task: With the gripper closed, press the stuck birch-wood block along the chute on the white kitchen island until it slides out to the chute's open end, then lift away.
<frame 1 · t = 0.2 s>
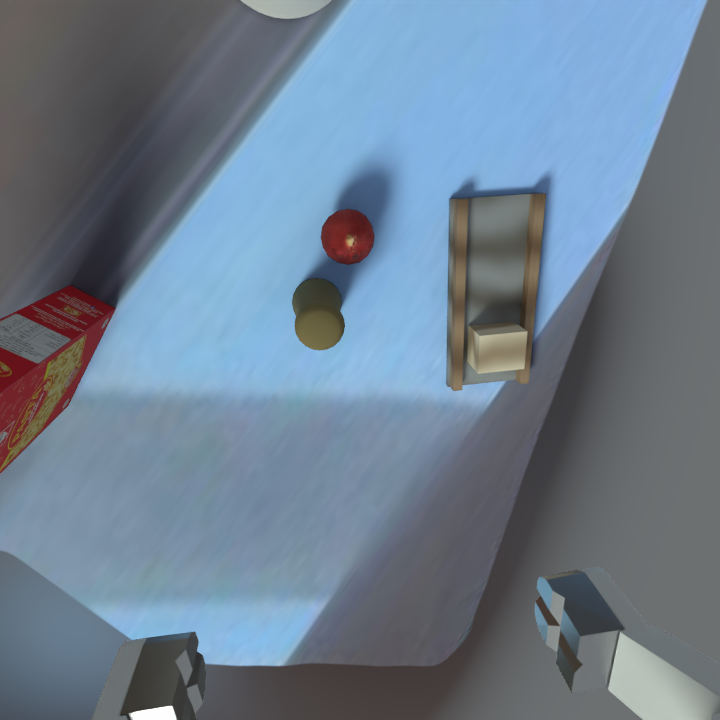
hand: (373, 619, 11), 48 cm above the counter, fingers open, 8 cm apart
birch block: (496, 347, 58), point 3 cm above the counter, slide at 0.0 cm
chute: (489, 295, 59), on the counter
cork: (316, 302, 57), on the counter
food packaging: (69, 347, 55), on the counter
onion: (344, 233, 54), on the counter
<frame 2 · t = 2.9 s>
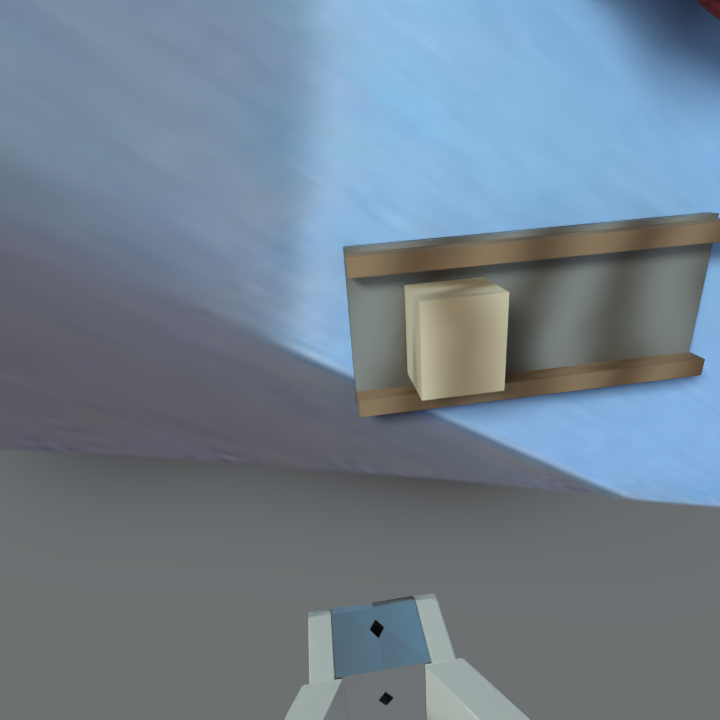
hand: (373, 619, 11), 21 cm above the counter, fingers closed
birch block: (453, 336, 28), point 3 cm above the counter, slide at 0.0 cm
chute: (526, 312, 31), on the counter
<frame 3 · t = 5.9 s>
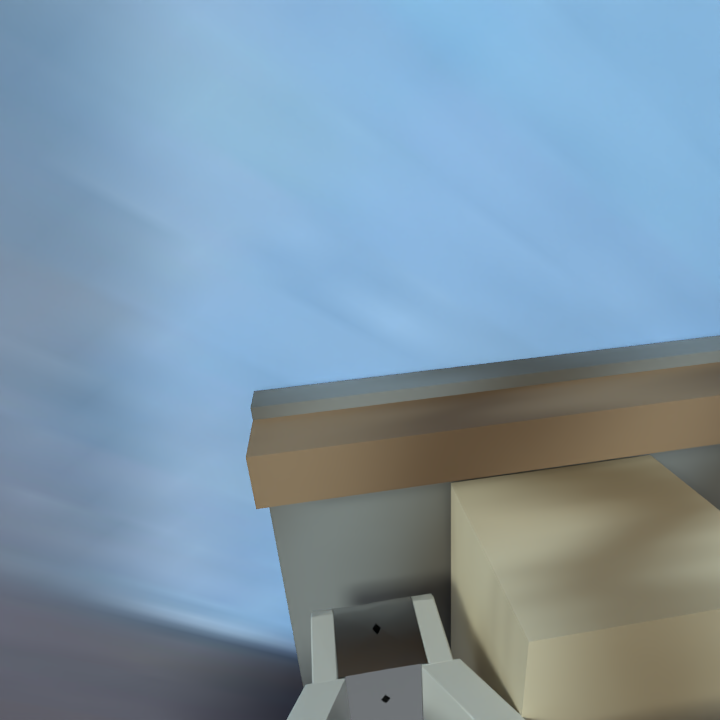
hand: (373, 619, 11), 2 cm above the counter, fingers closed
birch block: (586, 631, 10), point 3 cm above the counter, slide at 0.8 cm, touching gripper
chute: (696, 509, 14), on the counter
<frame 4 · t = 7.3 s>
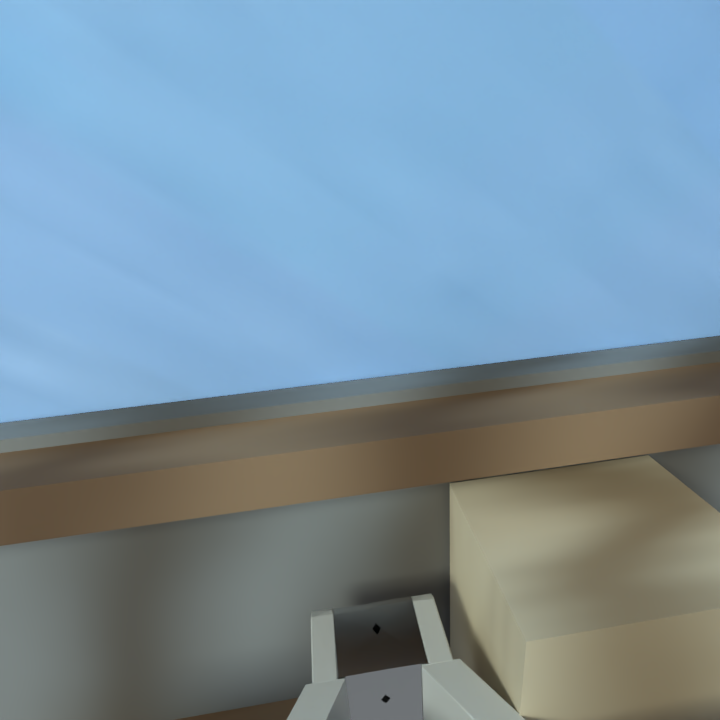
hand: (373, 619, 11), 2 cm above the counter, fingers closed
birch block: (584, 631, 10), point 3 cm above the counter, slide at 8.8 cm, touching gripper
chute: (429, 550, 13), on the counter
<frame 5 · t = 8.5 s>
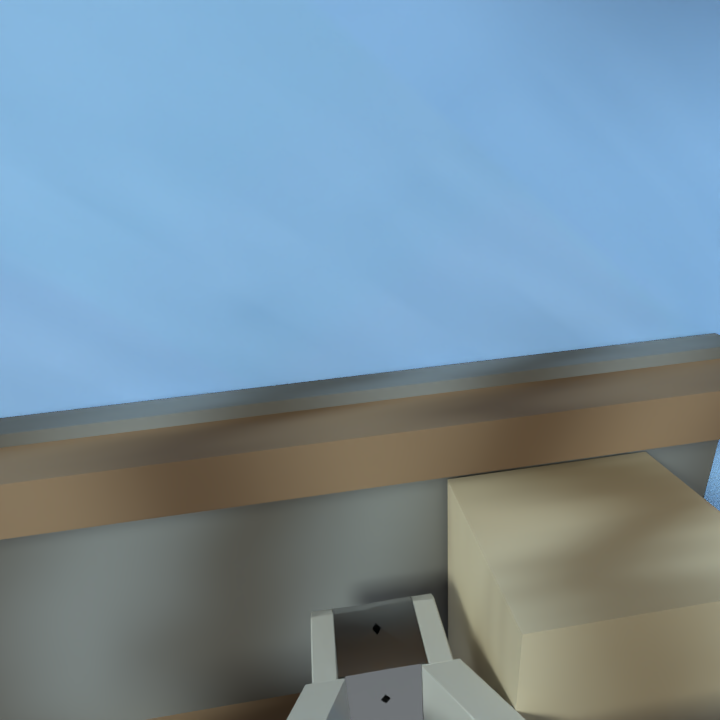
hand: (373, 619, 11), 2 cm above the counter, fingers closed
birch block: (581, 626, 10), point 3 cm above the counter, slide at 13.4 cm, touching gripper
chute: (264, 571, 13), on the counter
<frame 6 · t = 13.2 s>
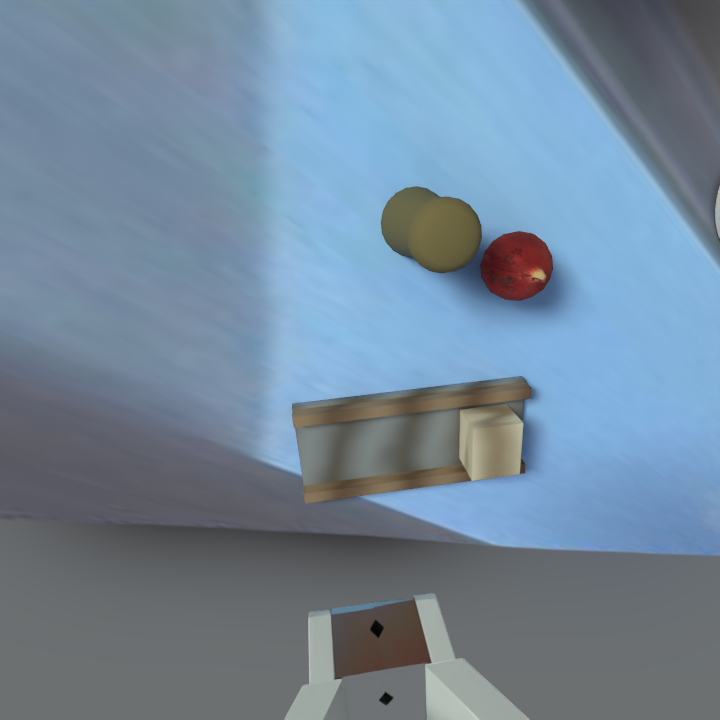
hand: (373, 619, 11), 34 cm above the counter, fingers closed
birch block: (489, 441, 47), point 3 cm above the counter, slide at 13.5 cm
chute: (411, 435, 49), on the counter
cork: (413, 222, 41), on the counter
onion: (498, 258, 43), on the counter
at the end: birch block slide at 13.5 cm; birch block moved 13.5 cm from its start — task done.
